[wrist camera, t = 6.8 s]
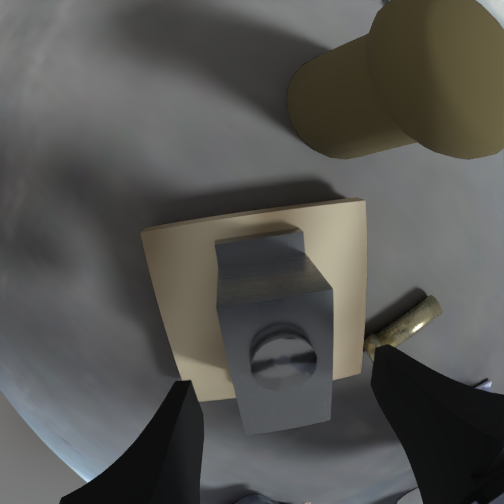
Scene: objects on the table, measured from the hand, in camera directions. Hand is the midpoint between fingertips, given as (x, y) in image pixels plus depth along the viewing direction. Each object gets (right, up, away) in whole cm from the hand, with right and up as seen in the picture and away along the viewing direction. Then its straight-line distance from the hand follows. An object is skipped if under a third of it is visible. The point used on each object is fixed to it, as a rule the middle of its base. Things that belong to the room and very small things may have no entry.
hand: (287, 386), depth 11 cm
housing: (-1, +2, +5) cm, 5 cm away
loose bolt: (+9, 0, +8) cm, 12 cm away
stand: (-1, +2, +7) cm, 7 cm away
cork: (+3, +13, +4) cm, 14 cm away
